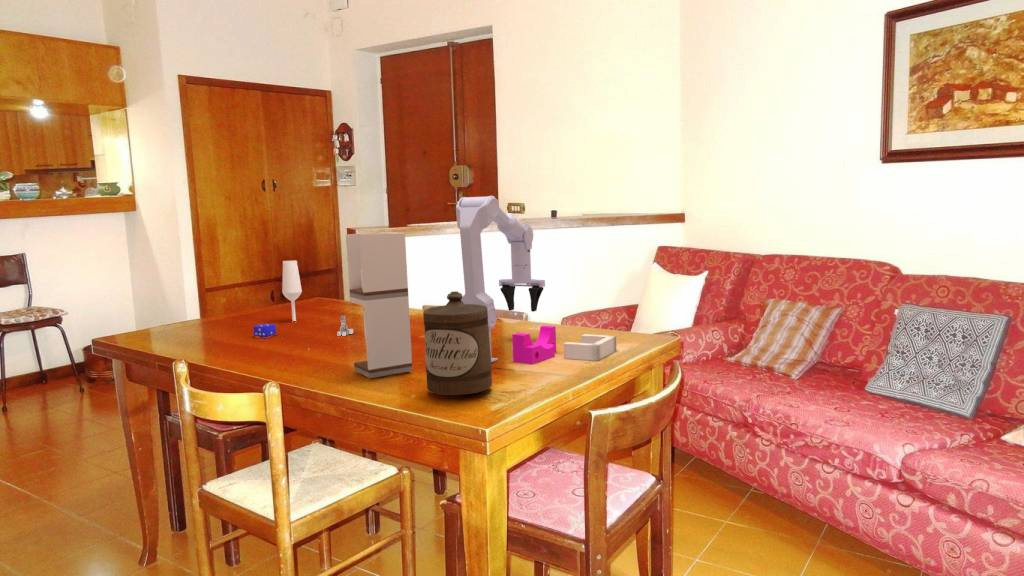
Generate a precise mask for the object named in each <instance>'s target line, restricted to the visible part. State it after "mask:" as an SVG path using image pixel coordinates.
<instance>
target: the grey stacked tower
mask: <svg viewBox="0 0 1024 576" xmlns="http://www.w3.org/2000/svg"><path fill="white" fill-rule="evenodd" d="M345 242H346V256H347V257H346V258H347V273H348V274H347V275H348V289H349V302H350V303H351V304H356V305H359V306H362V307H363V312H362V313H363V326H364V329H363V330H364V338H365V339H364V340H365V342H366V343H365V344H366V345H365V346H366V357H367V358H366V360H362V361H356V362H354V363H353V364H354V365H353V366H354V367H353V368H354V372H357V373H359V374H361V375H363V376H364V377H367V378H369V379H372V378H378V377H384V376H390V375H396V374H402V373H408V372H412V371H413V358H412V357H413V355H412V341H411V340H412V337H411V321H410V304H409V302H410V301H409V299H410V298H409V285H408V284H409V283H408V281H409V280H408V264H407V263H408V262H407V250H406V249H407V248H406V232H393V231H391V232H389V231H388V232H386V231H385V232H384V231H383V232H371V233H370V232H368V233H351V234H350V233H349V234H347V233H346V234H345Z"/></svg>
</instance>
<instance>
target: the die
mask: <svg viewBox="0 0 1024 576" xmlns="http://www.w3.org/2000/svg"><path fill="white" fill-rule="evenodd" d="M252 329H253V337H254V336H259V337H268V336H271V335H274V334H276V335H277V326H276V324H275V323H273V324H272V323H261V324H259V325H255V326H253V328H252Z"/></svg>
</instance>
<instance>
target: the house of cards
mask: <svg viewBox="0 0 1024 576" xmlns="http://www.w3.org/2000/svg"><path fill="white" fill-rule="evenodd" d="M336 333H337V334H336V335H337V336H341V335H342V336H346V335H347V336H348V335H349V334H353V333H355V331H354V328H349V327H348V324H347V320H346V316H345V315H340V327H339V331H337V332H336ZM353 335H354V334H353ZM337 336H336V337H337ZM342 336H341V337H342Z"/></svg>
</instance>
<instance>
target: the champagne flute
mask: <svg viewBox="0 0 1024 576" xmlns="http://www.w3.org/2000/svg"><path fill="white" fill-rule="evenodd" d="M300 278H301V277H300V273H299V266H298V260H295V259H293V260H283V261H282V285H281V286H282V288H281V289H282V290H281V293H282V294H283V296H284V297H285V298H286V299H287V300H289V301H290V302H291V305H290V306H291V316H292V317H291V319H292V322H293V321H296V322H297V317H296V302H295V301H296V300H297V299H299V297H300V296H301V294H303V290H302V285H301V284H302V283H301V279H300Z"/></svg>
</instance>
